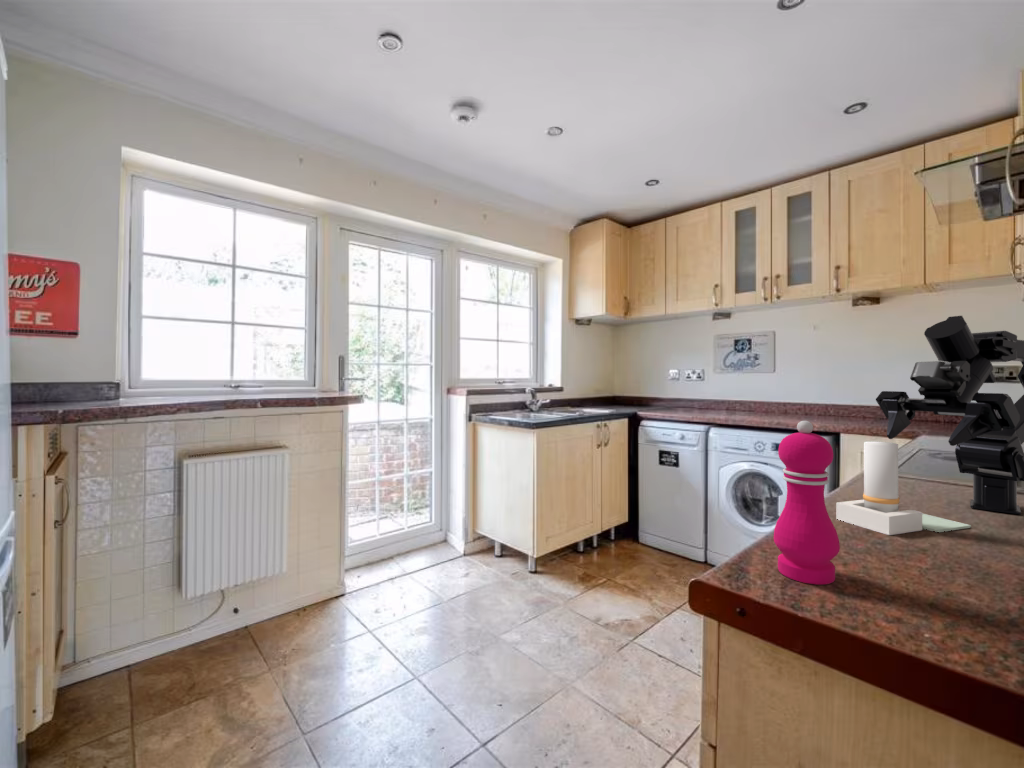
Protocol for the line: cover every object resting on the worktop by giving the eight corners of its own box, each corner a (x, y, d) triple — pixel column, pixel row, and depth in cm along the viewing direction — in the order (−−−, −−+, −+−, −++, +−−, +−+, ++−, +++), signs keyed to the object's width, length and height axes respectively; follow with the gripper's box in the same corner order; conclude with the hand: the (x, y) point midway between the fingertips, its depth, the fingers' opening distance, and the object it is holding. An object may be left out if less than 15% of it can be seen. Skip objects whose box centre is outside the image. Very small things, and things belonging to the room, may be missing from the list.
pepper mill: (849, 577, 58) (849, 420, 58) (824, 592, 54) (824, 424, 54) (789, 559, 64) (788, 417, 64) (763, 571, 60) (762, 420, 60)
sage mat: (916, 514, 84) (916, 512, 84) (970, 527, 77) (970, 525, 77) (885, 518, 82) (885, 516, 82) (937, 532, 74) (937, 530, 74)
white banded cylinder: (865, 518, 82) (865, 440, 82) (901, 524, 79) (900, 443, 79) (860, 524, 79) (860, 443, 79) (897, 530, 76) (897, 446, 75)
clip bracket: (867, 515, 84) (867, 498, 84) (922, 530, 76) (922, 512, 76) (836, 519, 82) (836, 502, 82) (889, 535, 74) (889, 516, 73)
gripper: (884, 350, 91) (842, 403, 87) (1013, 343, 73) (967, 409, 69) (908, 392, 93) (868, 445, 89) (1038, 395, 75) (996, 461, 72)
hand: (918, 440), depth 80 cm, fingers open, 9 cm apart
